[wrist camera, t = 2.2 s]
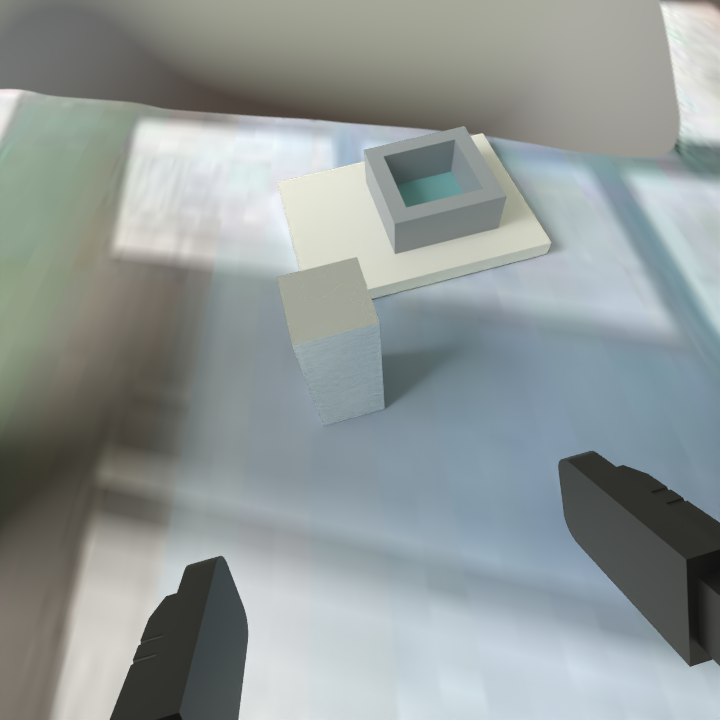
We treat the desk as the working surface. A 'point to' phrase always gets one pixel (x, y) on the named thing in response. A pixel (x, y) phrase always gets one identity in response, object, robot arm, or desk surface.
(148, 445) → the desk surface
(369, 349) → the grainy grey brick
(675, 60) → the desk surface
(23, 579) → the desk surface
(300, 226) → the docking board
